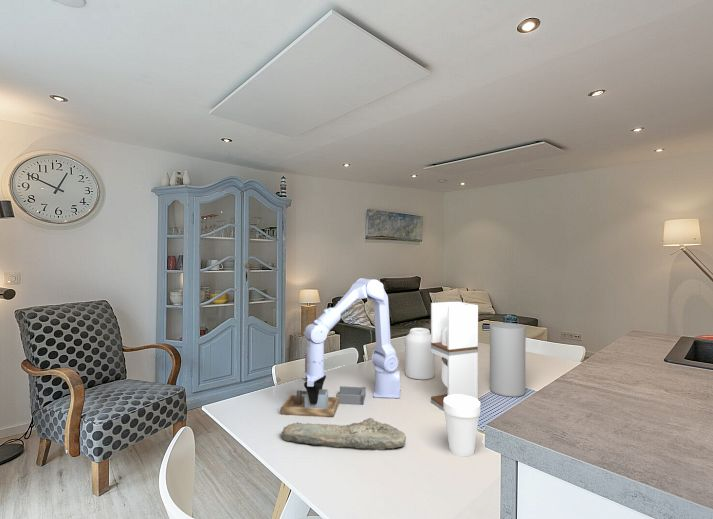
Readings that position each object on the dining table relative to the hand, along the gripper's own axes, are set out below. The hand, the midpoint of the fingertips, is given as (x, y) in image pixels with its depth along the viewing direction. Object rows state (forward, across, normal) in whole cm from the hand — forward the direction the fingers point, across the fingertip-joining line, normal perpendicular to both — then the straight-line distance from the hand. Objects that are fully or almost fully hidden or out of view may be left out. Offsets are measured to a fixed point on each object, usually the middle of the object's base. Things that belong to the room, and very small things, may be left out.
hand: (315, 400), depth 123 cm
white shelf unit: (+3, -8, +46) cm, 47 cm away
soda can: (+3, -28, -8) cm, 30 cm away
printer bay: (+3, -10, +10) cm, 15 cm away
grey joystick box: (+3, 0, -1) cm, 3 cm away
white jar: (+3, -40, +36) cm, 54 cm away
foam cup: (+3, +20, +44) cm, 49 cm away
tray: (+3, 0, -2) cm, 3 cm away
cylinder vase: (+3, -24, +68) cm, 73 cm away
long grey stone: (+4, +19, +12) cm, 23 cm away
